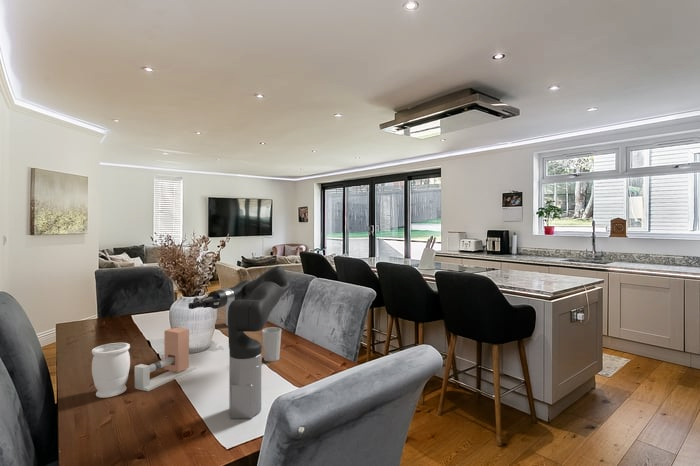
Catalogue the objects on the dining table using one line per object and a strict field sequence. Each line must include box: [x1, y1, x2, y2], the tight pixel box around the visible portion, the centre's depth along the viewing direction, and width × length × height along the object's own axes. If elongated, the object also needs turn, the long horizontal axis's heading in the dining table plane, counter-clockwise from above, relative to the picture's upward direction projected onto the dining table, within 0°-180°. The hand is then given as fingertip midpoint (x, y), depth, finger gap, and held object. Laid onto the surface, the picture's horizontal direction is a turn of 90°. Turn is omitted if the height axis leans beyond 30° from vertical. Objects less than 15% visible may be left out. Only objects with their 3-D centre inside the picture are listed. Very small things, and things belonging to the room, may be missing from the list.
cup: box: [261, 326, 282, 362], centre depth 153 cm, size 8×8×12 cm
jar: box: [91, 342, 131, 399], centre depth 121 cm, size 11×10×15 cm
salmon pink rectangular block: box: [164, 326, 190, 372], centre depth 138 cm, size 5×7×14 cm
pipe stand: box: [134, 356, 197, 392], centre depth 133 cm, size 21×6×8 cm, turn 158°
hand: (190, 306), depth 143 cm, fingers closed
